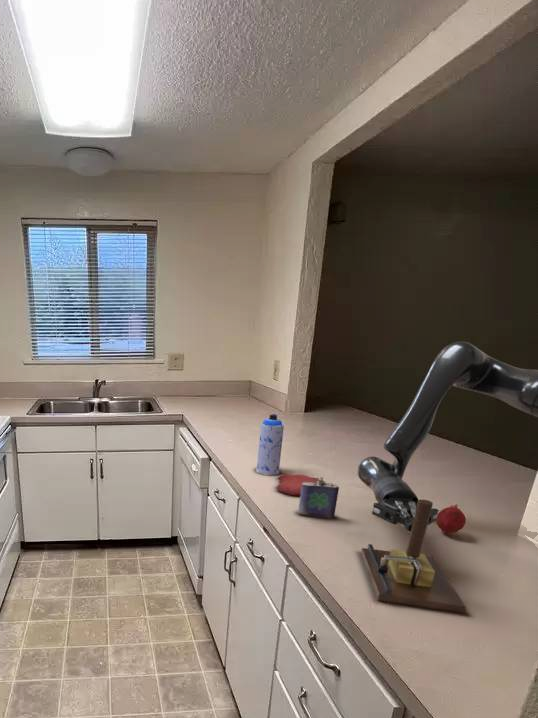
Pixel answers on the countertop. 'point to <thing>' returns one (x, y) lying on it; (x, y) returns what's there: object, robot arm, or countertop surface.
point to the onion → (451, 519)
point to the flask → (318, 499)
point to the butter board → (399, 585)
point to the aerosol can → (270, 446)
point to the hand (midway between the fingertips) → (416, 530)
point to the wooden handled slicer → (412, 540)
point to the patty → (293, 483)
